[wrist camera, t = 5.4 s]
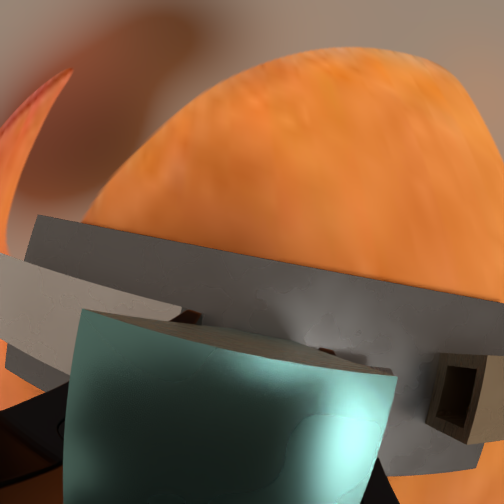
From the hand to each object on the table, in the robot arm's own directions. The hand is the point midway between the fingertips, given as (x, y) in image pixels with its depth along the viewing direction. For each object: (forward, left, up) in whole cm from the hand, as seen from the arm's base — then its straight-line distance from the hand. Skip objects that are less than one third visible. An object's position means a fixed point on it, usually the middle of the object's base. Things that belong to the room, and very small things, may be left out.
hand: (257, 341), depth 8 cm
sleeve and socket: (-1, -1, -7) cm, 7 cm away
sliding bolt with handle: (-4, +1, -6) cm, 7 cm away
